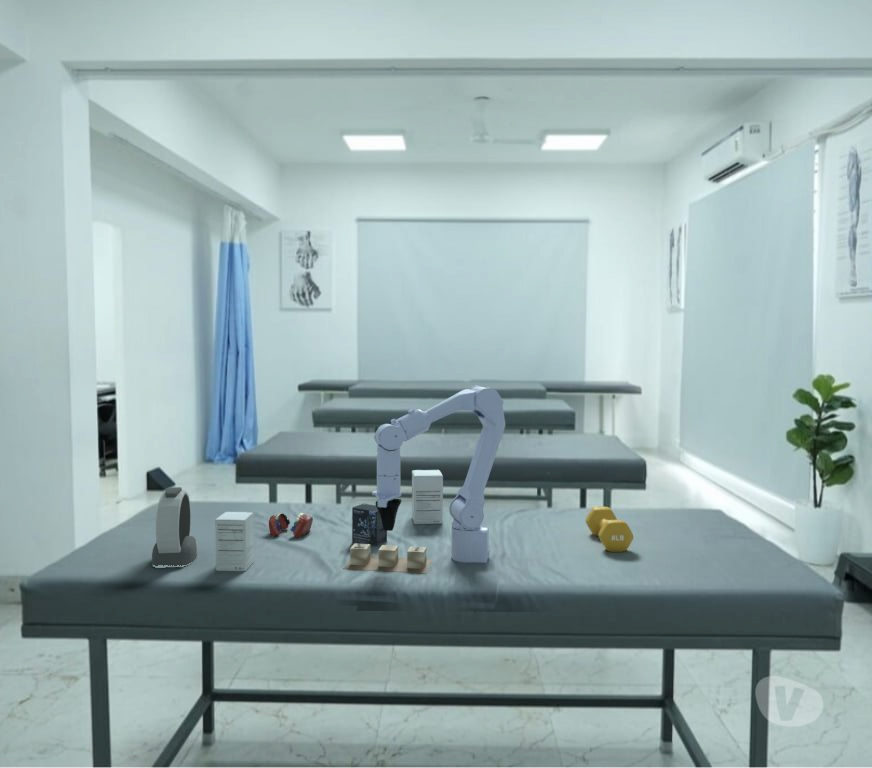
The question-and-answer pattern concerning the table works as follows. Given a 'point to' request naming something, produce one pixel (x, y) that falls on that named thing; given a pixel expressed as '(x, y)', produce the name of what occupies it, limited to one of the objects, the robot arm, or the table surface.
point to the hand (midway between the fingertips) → (388, 529)
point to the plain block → (388, 555)
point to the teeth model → (282, 522)
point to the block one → (416, 557)
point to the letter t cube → (360, 554)
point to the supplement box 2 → (427, 497)
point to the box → (367, 525)
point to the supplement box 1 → (234, 541)
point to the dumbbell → (609, 529)
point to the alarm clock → (174, 530)
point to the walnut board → (399, 567)
